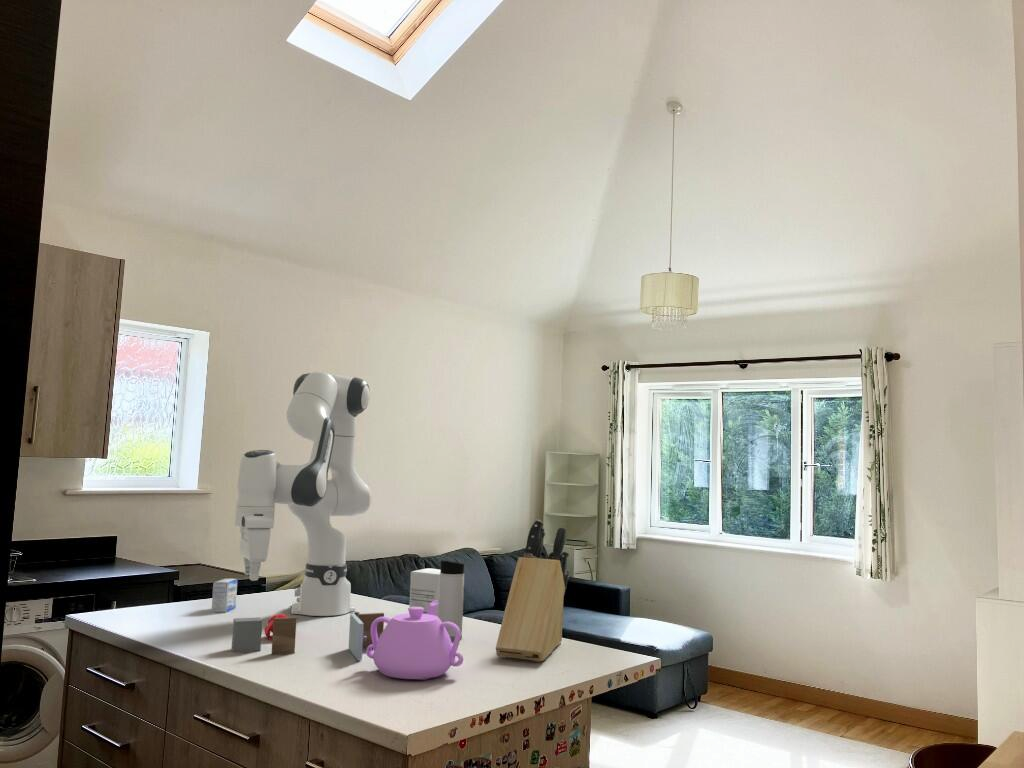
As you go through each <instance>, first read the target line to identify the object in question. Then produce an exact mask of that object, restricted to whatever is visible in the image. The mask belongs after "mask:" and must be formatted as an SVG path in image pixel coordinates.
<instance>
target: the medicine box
mask: <svg viewBox="0 0 1024 768" xmlns="http://www.w3.org/2000/svg"><path fill="white" fill-rule="evenodd" d="M237 592H238V579H237V578H223V579H220V580H219V579H218V580H217V581H215V582H213V586H212V597H211V598H212V599H211V601H212V602H211V612H212V613H222V612H224V613H223V614H226V612H227V613H228V612H230V611H232V610H234V609H236V608H237V594H238V593H237Z"/></svg>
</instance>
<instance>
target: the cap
mask: <svg viewBox="0 0 1024 768" xmlns="http://www.w3.org/2000/svg"><path fill="white" fill-rule="evenodd" d="M284 617H288V616H287V615H286V614H283V613H282V614H281V613H280V614H279V613H278V614H274V615H273V616H271V617H270V618H269V619H268V621H267V625H266V626H265V627H264V635H265V637H266V639H267V640H272V638H273V636H271V634H273V621H274V618H284Z"/></svg>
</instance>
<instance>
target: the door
mask: <svg viewBox="0 0 1024 768" xmlns="http://www.w3.org/2000/svg"><path fill="white" fill-rule="evenodd" d="M349 615H350V616H349V636H348V650H349V651H350V652H351V653H352V654H353V655H352V656H354V657H355V659H356V660H357V661H362V660H363V649H362V646H363V641H367V636H363V626H364V623H363V622H362V621H361V620H360V619H359V618H358V617H357V616H356V615H355V614H354V612H349Z"/></svg>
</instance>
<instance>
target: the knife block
mask: <svg viewBox="0 0 1024 768" xmlns="http://www.w3.org/2000/svg"><path fill="white" fill-rule="evenodd" d="M543 526H544V522H543V521H542V520H540V519H536V520H535V521H534V523H532V525H531V527H530V530H529V531H528V536H527V540H526V545H525V551H524V553H523V554H524V555H523V557H520V556H519V557H518V559H517V562H516V566H515V568H514V569H515V570H514V572H513V577H512V581H511V584H510V589H509V594H508V596H507V602H506V604H505V609H504V611H503V612H504V613H503V618H502V621H501V623H500V624H501V626H500V630H499V634H498V638H497V641H496V645H495V652H496V657H501V658H503V659H508V658H514V659H520V660H521V659H522V660H527V661H528V660H529V661H534V662H537V663H540V662H542V661H544V660H546V659H547V658H548V657H549V656H550V654H552V653H553V651H554V650H555V649H556V647H558V646H559V644H560V643H561V642H562V640H563V639H562V638H563V623H564V622H563V618H564V597H565V594H566V590H567V585H568V581H569V576H570V574H569V573H567V572H566V570H567V565H568V564H567V562H568V561H567V559H568V558H569V556H570V554H569V552H567V551H565V550H564V546H565V542H566V536H567V530H566V528H563V527H559V528H558V529H557V531H556V533H555V538H554V541H553V549H552V552H550V553H549V554H548V557H547V553H546V552H545V551H543V547H544V538H545V536H546V532H545V528H544V527H543ZM563 550H564V551H563ZM541 557H542V558H541Z"/></svg>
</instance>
